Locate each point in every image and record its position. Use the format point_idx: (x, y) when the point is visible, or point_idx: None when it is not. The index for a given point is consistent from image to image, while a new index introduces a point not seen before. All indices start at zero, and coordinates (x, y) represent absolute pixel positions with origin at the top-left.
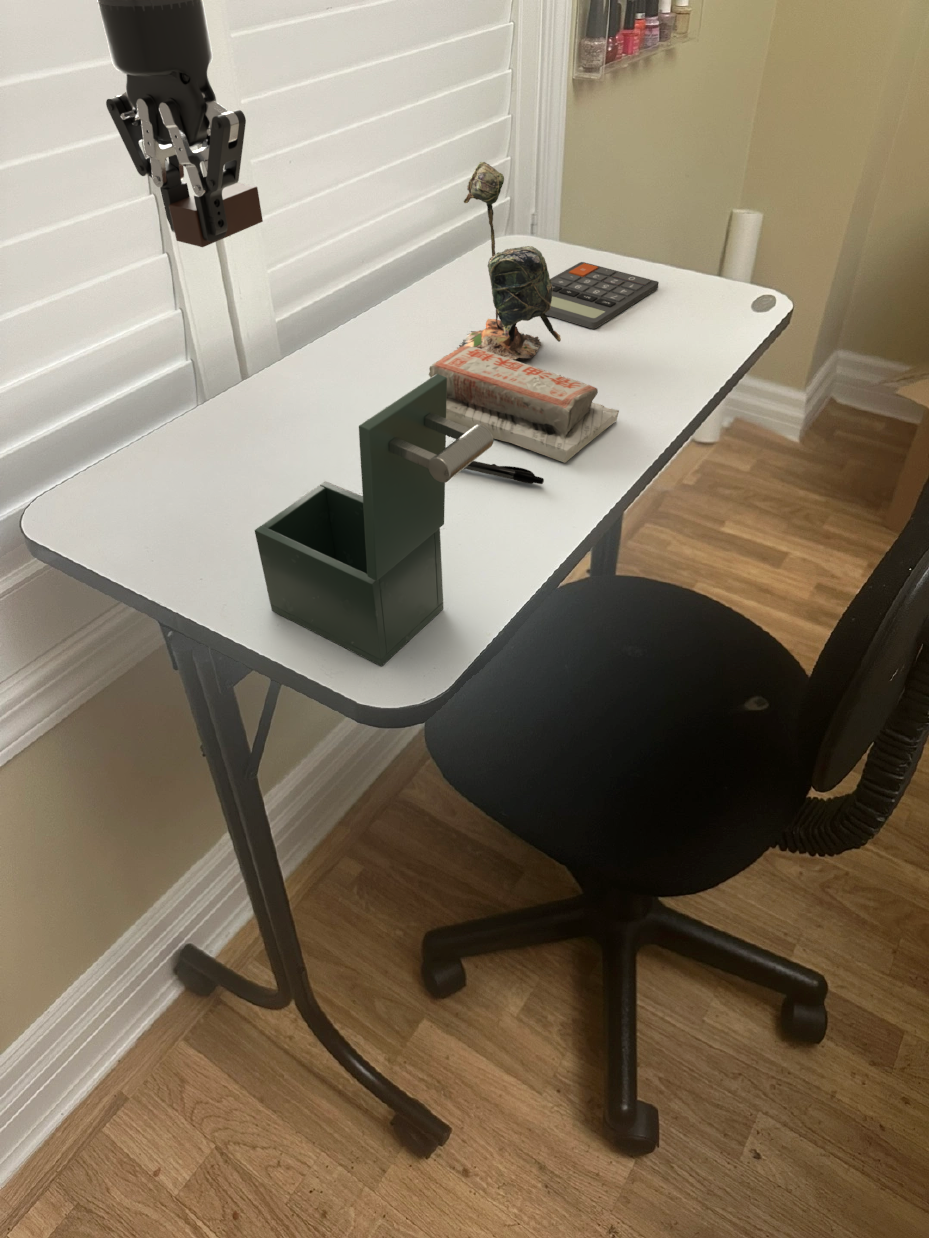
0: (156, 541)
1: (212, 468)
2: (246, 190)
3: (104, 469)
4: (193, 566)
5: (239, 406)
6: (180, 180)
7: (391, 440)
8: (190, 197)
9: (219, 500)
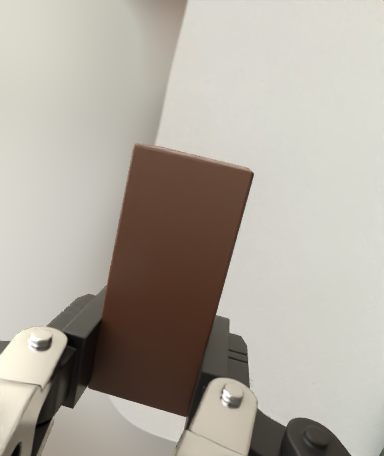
0: None
1: (219, 303)
2: (238, 222)
3: None
4: None
5: None
6: (72, 359)
7: None
8: (108, 324)
9: (255, 348)
